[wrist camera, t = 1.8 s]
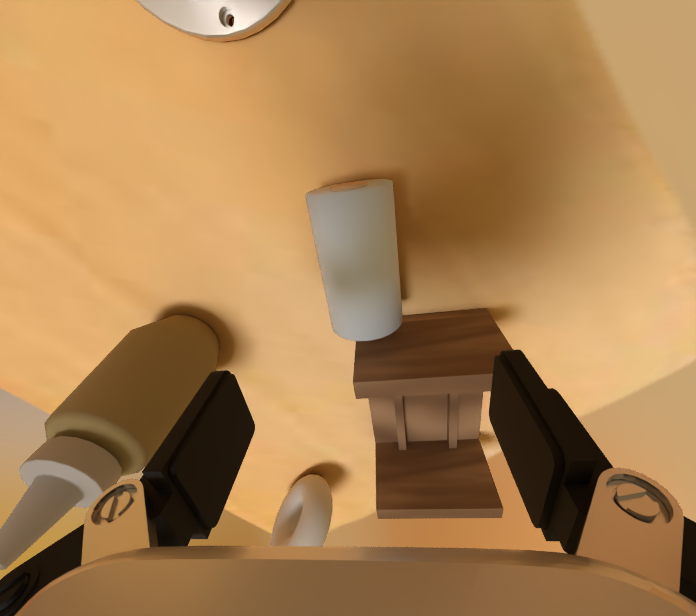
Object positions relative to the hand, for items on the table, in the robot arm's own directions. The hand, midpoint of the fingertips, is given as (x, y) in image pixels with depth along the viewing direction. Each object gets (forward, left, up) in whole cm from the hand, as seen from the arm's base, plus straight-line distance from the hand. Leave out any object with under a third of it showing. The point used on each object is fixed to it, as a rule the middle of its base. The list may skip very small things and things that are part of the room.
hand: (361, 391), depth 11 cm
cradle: (+15, +4, -15) cm, 22 cm away
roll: (0, -1, -13) cm, 13 cm away
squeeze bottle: (+7, -18, -16) cm, 25 cm away
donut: (+30, -11, -16) cm, 35 cm away
